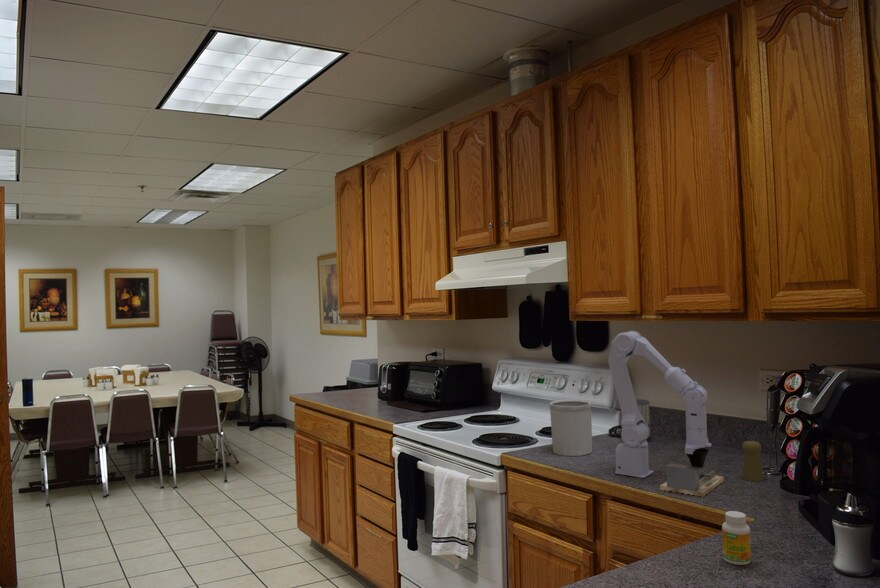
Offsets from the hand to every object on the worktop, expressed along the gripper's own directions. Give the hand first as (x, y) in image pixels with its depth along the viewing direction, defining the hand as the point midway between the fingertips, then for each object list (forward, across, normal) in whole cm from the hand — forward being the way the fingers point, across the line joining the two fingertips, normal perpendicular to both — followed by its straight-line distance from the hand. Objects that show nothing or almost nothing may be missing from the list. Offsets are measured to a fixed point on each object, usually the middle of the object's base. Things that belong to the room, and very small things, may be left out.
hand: (697, 473), depth 194 cm
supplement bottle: (+3, -52, -25) cm, 58 cm away
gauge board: (+2, -4, 0) cm, 5 cm away
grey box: (+1, -12, 0) cm, 12 cm away
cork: (+3, +12, -12) cm, 17 cm away
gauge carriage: (+1, -5, -1) cm, 5 cm away
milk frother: (+3, +43, +40) cm, 59 cm away
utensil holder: (+3, +12, +48) cm, 50 cm away
